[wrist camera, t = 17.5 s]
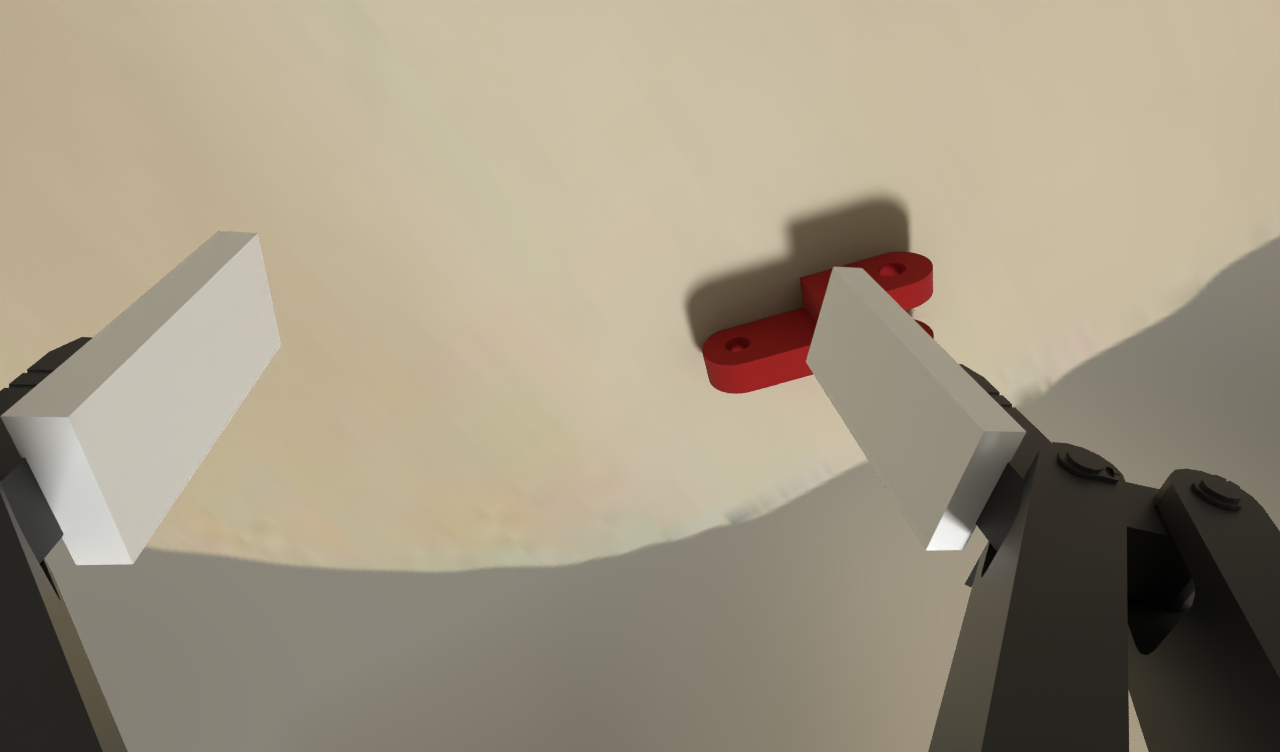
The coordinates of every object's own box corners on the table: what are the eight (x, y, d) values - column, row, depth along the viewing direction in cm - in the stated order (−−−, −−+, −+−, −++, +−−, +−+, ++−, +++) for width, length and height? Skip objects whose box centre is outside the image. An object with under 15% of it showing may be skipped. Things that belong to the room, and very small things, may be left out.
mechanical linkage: (911, 245, 45) (947, 274, 41) (913, 331, 49) (947, 365, 45) (689, 308, 46) (702, 343, 42) (709, 388, 50) (723, 427, 46)
